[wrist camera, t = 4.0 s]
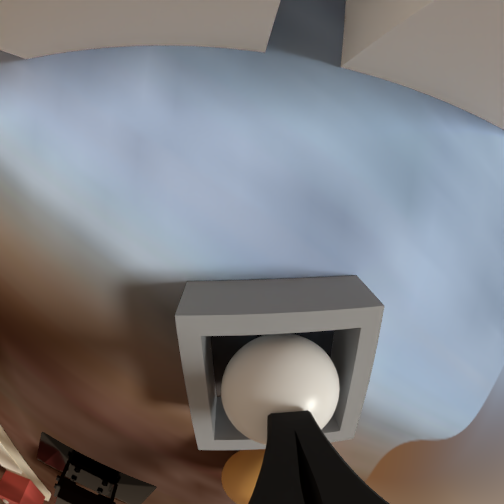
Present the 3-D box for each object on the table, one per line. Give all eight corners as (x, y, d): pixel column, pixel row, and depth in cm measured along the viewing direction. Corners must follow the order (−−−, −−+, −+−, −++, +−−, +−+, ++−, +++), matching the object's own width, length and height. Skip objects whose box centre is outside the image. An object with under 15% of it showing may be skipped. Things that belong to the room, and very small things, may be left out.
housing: (338, 399, 16) (353, 438, 13) (202, 407, 15) (198, 449, 12) (356, 275, 13) (384, 305, 11) (187, 281, 13) (174, 315, 10)
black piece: (24, 447, 18) (4, 483, 13) (28, 405, 16) (-1, 448, 12) (150, 510, 20) (143, 550, 16) (181, 483, 18) (175, 533, 14)
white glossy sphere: (319, 390, 15) (342, 460, 10) (225, 395, 14) (224, 470, 10) (328, 309, 13) (365, 375, 9) (219, 314, 13) (213, 386, 9)
